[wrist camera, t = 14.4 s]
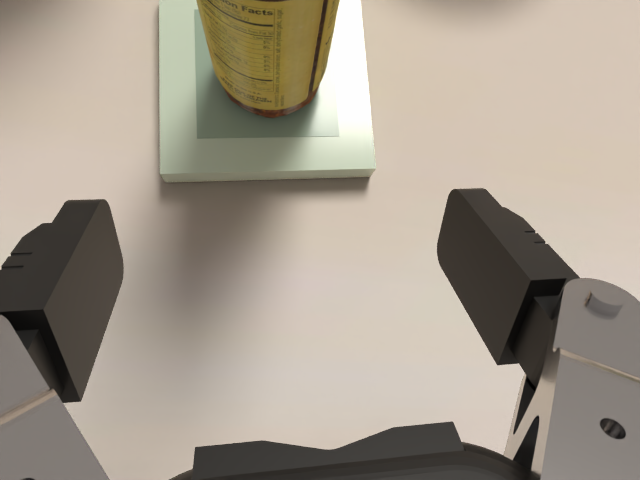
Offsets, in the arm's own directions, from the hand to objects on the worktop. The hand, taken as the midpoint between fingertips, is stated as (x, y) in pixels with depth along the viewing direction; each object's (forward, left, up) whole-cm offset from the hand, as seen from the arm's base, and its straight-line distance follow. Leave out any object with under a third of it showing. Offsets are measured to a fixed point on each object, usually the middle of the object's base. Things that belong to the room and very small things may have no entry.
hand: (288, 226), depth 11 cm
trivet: (0, +12, -15) cm, 19 cm away
